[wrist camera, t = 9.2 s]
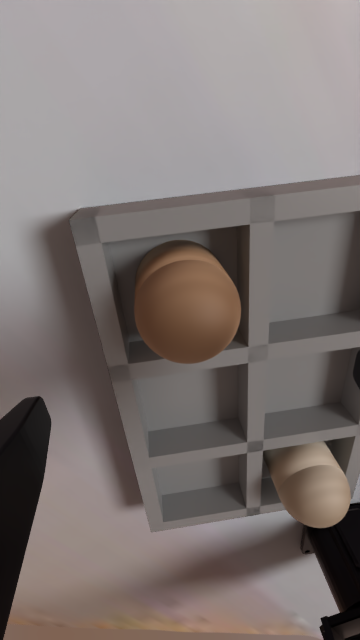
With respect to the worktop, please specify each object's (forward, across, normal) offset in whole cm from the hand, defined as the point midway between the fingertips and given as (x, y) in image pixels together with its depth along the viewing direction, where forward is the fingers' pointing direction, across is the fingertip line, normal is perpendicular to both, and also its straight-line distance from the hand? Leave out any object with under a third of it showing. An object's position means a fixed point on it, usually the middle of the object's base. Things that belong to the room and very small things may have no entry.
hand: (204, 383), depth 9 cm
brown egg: (+8, 0, 0) cm, 8 cm away
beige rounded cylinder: (+8, -7, +14) cm, 18 cm away
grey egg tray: (+8, -4, +7) cm, 12 cm away
